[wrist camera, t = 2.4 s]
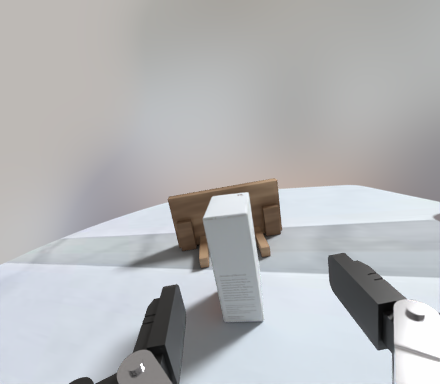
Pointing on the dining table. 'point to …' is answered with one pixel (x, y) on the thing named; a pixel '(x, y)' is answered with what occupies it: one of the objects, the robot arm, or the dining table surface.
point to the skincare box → (234, 257)
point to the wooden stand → (197, 205)
